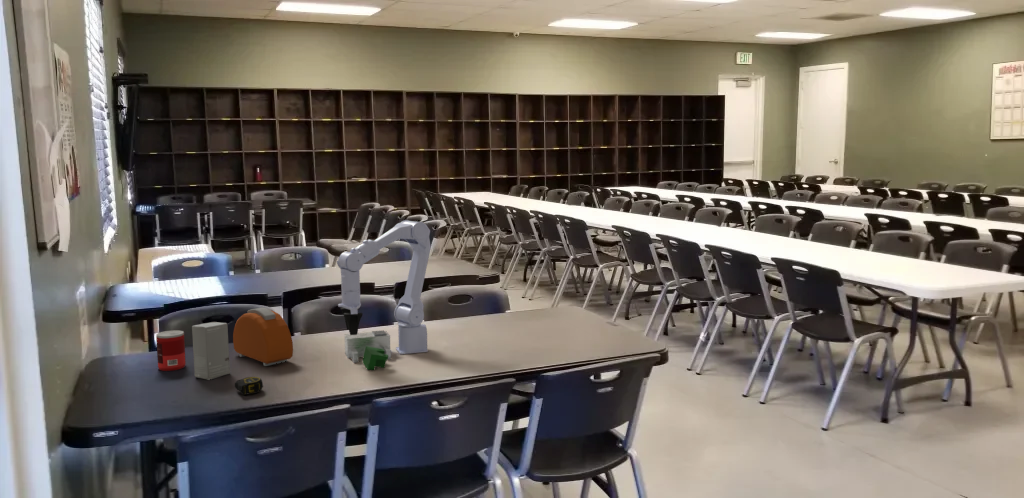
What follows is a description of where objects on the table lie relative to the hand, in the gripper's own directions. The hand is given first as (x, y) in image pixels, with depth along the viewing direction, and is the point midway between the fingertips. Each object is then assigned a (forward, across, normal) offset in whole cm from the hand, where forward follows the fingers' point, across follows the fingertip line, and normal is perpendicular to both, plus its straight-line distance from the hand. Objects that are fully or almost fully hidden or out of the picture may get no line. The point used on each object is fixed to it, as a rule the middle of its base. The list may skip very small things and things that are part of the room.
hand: (351, 331), depth 240 cm
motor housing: (+10, -5, +6) cm, 13 cm away
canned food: (+10, -12, -54) cm, 56 cm away
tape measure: (+10, +22, -32) cm, 40 cm away
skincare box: (+10, +1, -42) cm, 43 cm away
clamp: (+10, +7, +6) cm, 14 cm away
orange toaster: (+10, -13, -27) cm, 32 cm away
